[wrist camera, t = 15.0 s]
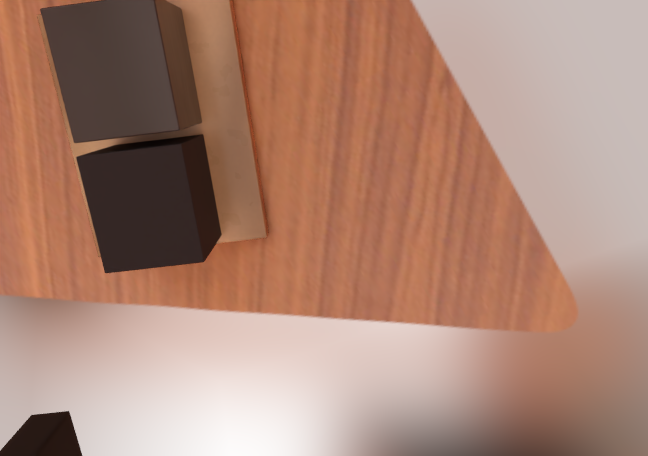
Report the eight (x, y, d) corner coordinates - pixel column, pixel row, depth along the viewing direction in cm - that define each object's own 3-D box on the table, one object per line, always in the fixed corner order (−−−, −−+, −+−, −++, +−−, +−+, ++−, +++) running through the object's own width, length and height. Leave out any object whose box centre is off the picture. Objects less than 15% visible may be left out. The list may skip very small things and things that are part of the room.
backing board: (231, -8, 32) (208, -30, 26) (268, 233, 37) (257, 265, 30) (46, 16, 33) (-22, 1, 26) (105, 252, 37) (59, 288, 31)
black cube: (203, 134, 34) (181, 144, 28) (222, 235, 36) (204, 262, 30) (114, 144, 34) (75, 156, 29) (137, 245, 36) (104, 273, 31)
